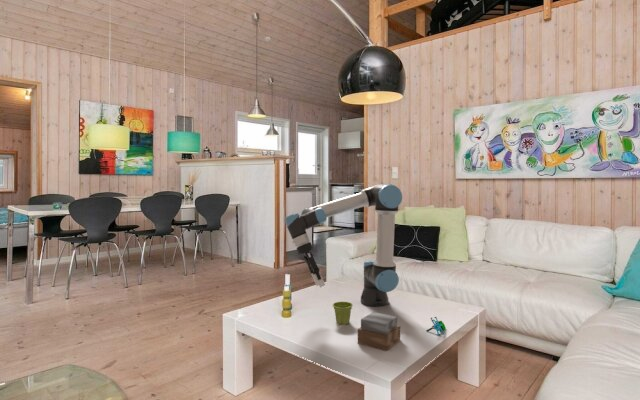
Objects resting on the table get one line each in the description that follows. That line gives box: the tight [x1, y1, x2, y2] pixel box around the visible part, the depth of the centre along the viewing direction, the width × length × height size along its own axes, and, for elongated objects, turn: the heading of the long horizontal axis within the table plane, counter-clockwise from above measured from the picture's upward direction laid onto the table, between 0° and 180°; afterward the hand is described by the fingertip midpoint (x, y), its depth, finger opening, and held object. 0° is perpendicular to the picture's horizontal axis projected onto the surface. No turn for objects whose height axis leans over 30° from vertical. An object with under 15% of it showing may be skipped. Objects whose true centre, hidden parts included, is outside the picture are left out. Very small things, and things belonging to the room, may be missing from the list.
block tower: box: [357, 311, 401, 352], centre depth 165 cm, size 13×13×10 cm
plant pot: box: [332, 301, 354, 326], centre depth 187 cm, size 9×9×9 cm
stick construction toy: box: [426, 316, 447, 336], centre depth 176 cm, size 12×7×8 cm
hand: (320, 285), depth 189 cm, fingers open, 13 cm apart
